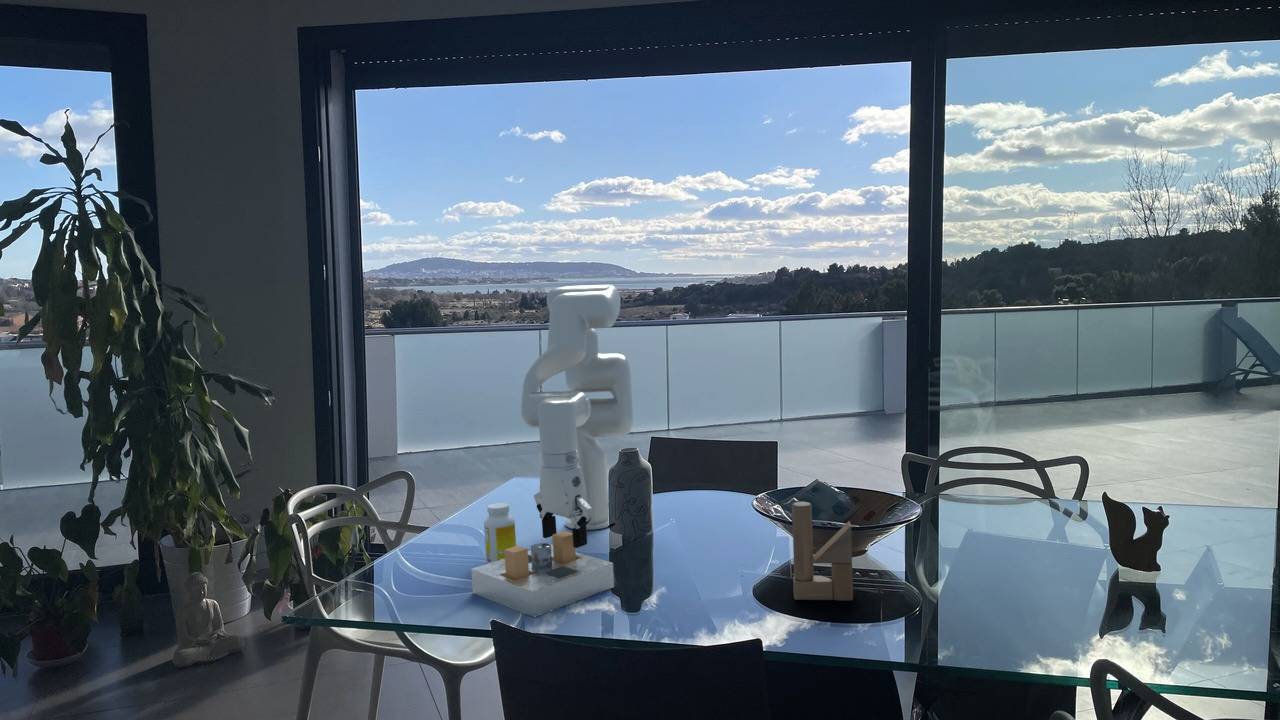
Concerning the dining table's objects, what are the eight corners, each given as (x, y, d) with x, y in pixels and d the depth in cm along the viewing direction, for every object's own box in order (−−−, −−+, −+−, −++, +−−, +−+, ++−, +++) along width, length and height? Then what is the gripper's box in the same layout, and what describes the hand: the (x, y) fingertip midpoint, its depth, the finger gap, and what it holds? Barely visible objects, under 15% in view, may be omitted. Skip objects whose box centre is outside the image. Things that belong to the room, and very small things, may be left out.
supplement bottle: (523, 559, 199) (519, 502, 197) (506, 568, 193) (502, 510, 191) (497, 556, 201) (494, 500, 200) (480, 565, 195) (476, 508, 194)
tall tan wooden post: (520, 594, 177) (517, 545, 176) (530, 598, 174) (527, 548, 173) (507, 599, 174) (504, 549, 173) (517, 603, 172) (514, 552, 171)
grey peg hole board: (551, 566, 193) (548, 525, 192) (614, 587, 178) (611, 543, 177) (472, 593, 179) (469, 549, 178) (534, 617, 164) (531, 570, 164)
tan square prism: (567, 578, 185) (564, 530, 184) (577, 581, 183) (574, 533, 182) (555, 582, 183) (552, 534, 182) (564, 585, 181) (562, 537, 179)
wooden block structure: (853, 601, 165) (851, 506, 163) (794, 600, 167) (791, 506, 165) (851, 594, 169) (849, 500, 167) (793, 593, 170) (790, 501, 169)
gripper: (602, 461, 177) (606, 545, 179) (547, 450, 189) (552, 528, 191) (573, 469, 172) (578, 555, 174) (518, 457, 184) (524, 537, 186)
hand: (564, 541), depth 183 cm, fingers open, 9 cm apart
